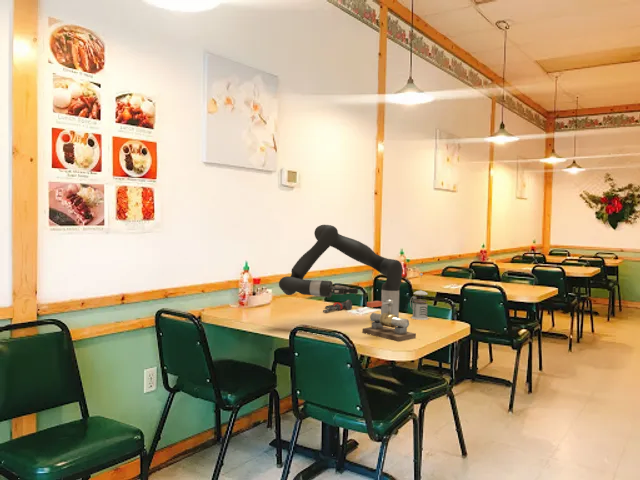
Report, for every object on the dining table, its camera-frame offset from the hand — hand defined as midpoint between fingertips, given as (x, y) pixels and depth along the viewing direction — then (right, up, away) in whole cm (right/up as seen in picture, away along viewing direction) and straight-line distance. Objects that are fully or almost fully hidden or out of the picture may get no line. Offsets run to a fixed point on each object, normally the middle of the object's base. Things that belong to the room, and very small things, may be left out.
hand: (357, 291), depth 233 cm
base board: (+15, -21, +6) cm, 26 cm away
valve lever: (+11, -6, +1) cm, 13 cm away
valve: (-9, -19, +72) cm, 75 cm away
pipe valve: (+15, -19, +6) cm, 25 cm away
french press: (+38, -20, +52) cm, 67 cm away
